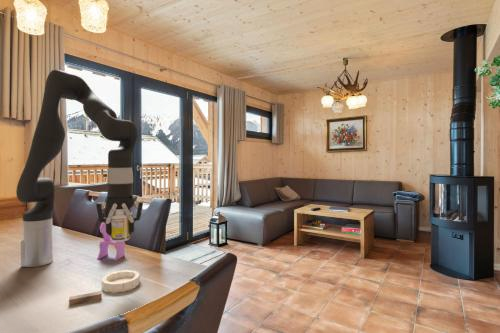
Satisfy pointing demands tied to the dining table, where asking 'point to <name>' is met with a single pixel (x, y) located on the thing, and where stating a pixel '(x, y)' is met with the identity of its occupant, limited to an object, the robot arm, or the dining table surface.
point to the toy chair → (107, 240)
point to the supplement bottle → (120, 226)
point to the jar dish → (120, 281)
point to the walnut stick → (85, 298)
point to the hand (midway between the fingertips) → (120, 233)
